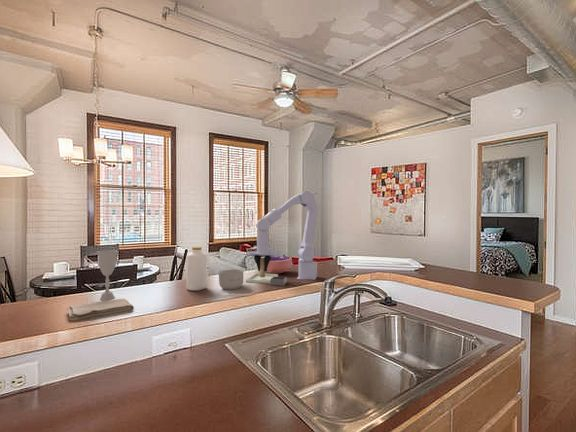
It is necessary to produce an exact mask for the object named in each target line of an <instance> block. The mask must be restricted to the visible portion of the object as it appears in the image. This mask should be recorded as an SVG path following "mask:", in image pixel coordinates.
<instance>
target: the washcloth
mask: <svg viewBox="0 0 576 432" xmlns="http://www.w3.org/2000/svg"><path fill="white" fill-rule="evenodd" d="M134 309H135V306H134V305H133V304H131V303H130V302H129V301H128V300H127V299H126V298H116V299H115V298H114V299H109V300H100V301H94V302H89V303H88V302H87V303H80V304H73V305H70V306H69V307H67V308H66V310H67V312H68V318H69V321H72V322H75V321H76V322H77V321H81V320H89V319H94V318H95V319H96V318H100V317H106V316H112V315H117V314H118V315H119V314H124V313H129V312H132V311H133V310H134Z"/></svg>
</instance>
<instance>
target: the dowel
mask: <svg viewBox="0 0 576 432" xmlns="http://www.w3.org/2000/svg"><path fill="white" fill-rule="evenodd" d="M264 267H265V263H264V258H263V257H261V258H260V271H259V273H260V277H265V274H266V272H265V271H264Z"/></svg>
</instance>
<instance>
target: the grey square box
mask: <svg viewBox="0 0 576 432" xmlns="http://www.w3.org/2000/svg"><path fill="white" fill-rule="evenodd" d="M287 279H288V278H287V276H278V277H273V278H271V279H270V283H269V285H270V286H279V287H280V286H281V287H284V286H285V285H286V284H287V283H288V282H287V281H288V280H287Z"/></svg>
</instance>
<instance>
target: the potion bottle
mask: <svg viewBox="0 0 576 432" xmlns="http://www.w3.org/2000/svg"><path fill="white" fill-rule="evenodd" d="M207 262H208V261H207V253H205V252H203V249H202V246H193V247H191V251H190V252H189V253H187V255H186V289H187V290H188V291H192V292H194V291H195V292H196V291H197V292H198V291H202V290H205V289H206V288H207Z"/></svg>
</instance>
